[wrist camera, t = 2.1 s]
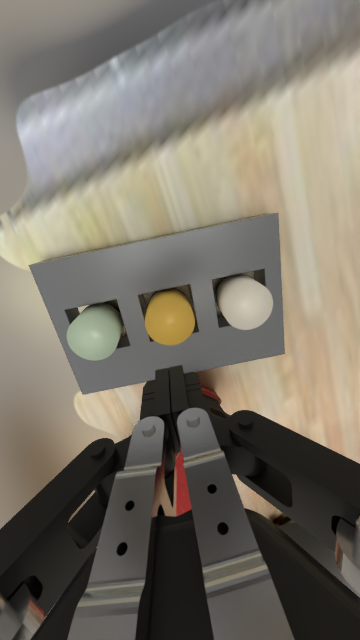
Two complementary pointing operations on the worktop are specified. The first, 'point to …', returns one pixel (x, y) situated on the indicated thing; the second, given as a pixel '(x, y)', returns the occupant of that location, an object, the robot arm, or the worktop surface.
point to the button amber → (169, 317)
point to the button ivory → (244, 301)
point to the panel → (162, 273)
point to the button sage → (95, 332)
